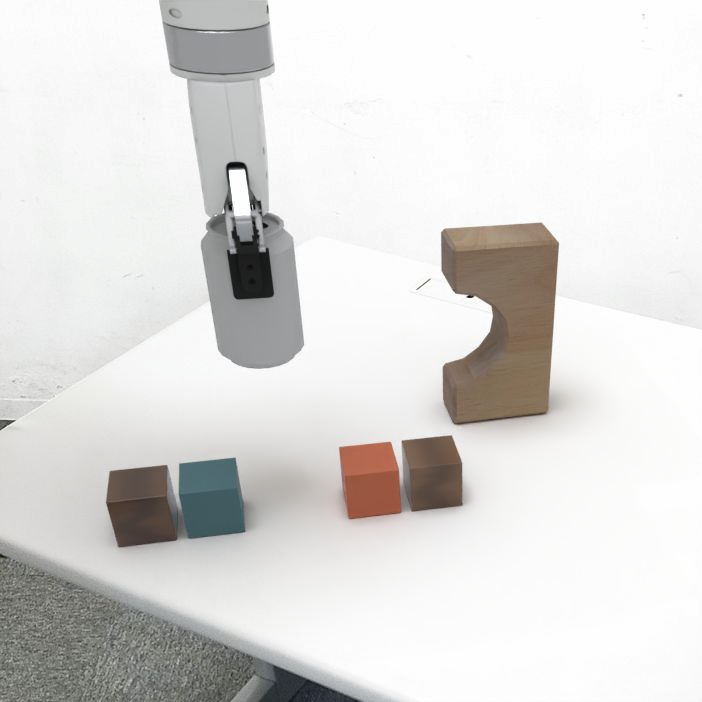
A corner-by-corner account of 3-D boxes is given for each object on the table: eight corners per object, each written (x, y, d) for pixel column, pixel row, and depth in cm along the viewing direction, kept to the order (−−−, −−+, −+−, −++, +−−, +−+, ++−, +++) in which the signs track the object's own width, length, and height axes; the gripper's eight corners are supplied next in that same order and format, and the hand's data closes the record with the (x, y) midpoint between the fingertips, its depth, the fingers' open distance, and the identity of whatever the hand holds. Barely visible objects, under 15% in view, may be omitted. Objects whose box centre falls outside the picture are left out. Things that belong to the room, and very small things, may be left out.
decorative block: (452, 425, 105) (451, 248, 93) (442, 399, 109) (439, 226, 97) (549, 415, 108) (561, 241, 96) (535, 390, 112) (544, 220, 100)
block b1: (118, 547, 86) (105, 502, 83) (121, 514, 90) (109, 470, 87) (176, 540, 87) (166, 495, 84) (177, 508, 91) (167, 464, 88)
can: (318, 341, 89) (306, 211, 81) (283, 379, 83) (267, 243, 75) (243, 329, 90) (224, 200, 82) (203, 365, 84) (179, 230, 76)
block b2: (188, 538, 88) (178, 494, 85) (188, 506, 91) (179, 463, 88) (245, 531, 89) (237, 487, 86) (243, 500, 93) (235, 457, 90)
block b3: (348, 519, 91) (344, 475, 88) (342, 489, 95) (338, 446, 92) (401, 512, 92) (399, 469, 89) (393, 483, 96) (391, 441, 93)
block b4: (411, 511, 93) (409, 468, 90) (403, 482, 96) (401, 440, 93) (462, 505, 94) (462, 462, 91) (452, 476, 98) (451, 434, 94)
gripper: (168, 23, 76) (204, 240, 87) (164, 78, 63) (207, 325, 74) (265, 24, 78) (288, 236, 89) (281, 77, 65) (306, 318, 76)
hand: (251, 275), depth 82 cm, fingers closed on can, 7 cm apart
